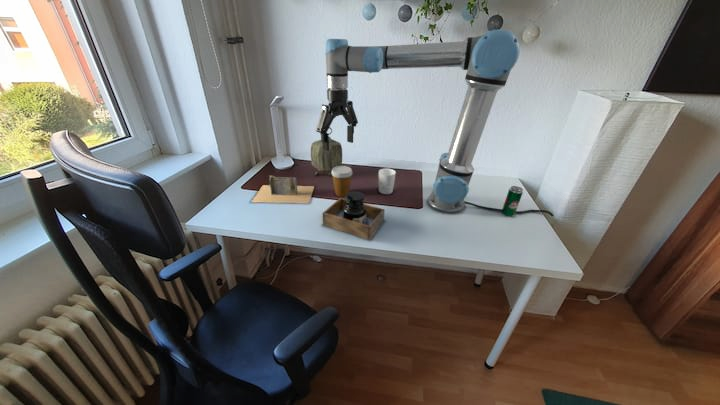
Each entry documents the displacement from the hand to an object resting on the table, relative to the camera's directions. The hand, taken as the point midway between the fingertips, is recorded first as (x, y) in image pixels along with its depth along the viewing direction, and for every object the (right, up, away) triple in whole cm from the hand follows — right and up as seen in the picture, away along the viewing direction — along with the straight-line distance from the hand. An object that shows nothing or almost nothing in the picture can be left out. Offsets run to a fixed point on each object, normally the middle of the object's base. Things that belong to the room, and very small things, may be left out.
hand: (338, 145), depth 108 cm
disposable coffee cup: (0, -19, +18) cm, 26 cm away
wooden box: (+6, -31, -3) cm, 31 cm away
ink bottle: (+6, -31, -2) cm, 31 cm away
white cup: (+21, -17, +21) cm, 34 cm away
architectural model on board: (-26, -19, +16) cm, 36 cm away
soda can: (+71, -27, +6) cm, 76 cm away
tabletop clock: (-8, -8, +36) cm, 38 cm away
